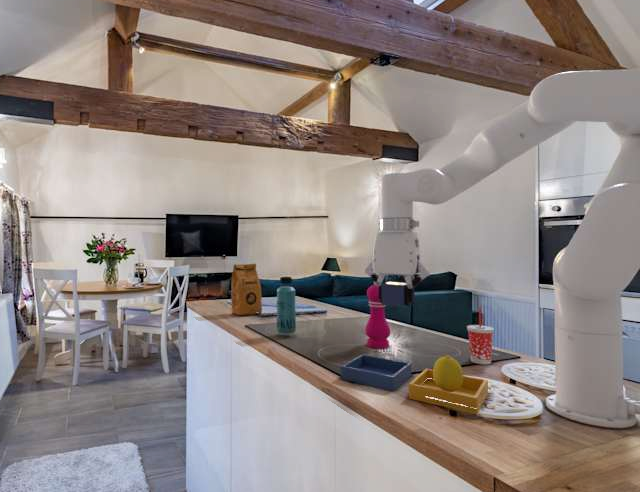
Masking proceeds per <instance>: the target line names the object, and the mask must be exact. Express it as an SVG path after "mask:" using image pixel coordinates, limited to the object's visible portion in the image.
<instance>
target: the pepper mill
mask: <svg viewBox="0 0 640 492" xmlns="http://www.w3.org/2000/svg"><path fill="white" fill-rule="evenodd" d="M366 296H367V299H368V306H369V308H370V315H369V318H368V320H367V322H366V325H365V329H364V333H365V335H366V336H367V337H368V338H367V339H366V344H367V347H369V348H373V349H379V350H381V349H387V348H389V347H390V341H389V339H388V338H389V337H390V336H391V328H390V325H389V323H388V321H387V318H386V315H385V307H387V306H386V305H382V303H380V299H379V286H377V284H376V282H375V281H374V280H373V285H371V286H369V287H368V288H367V290H366Z"/></svg>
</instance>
